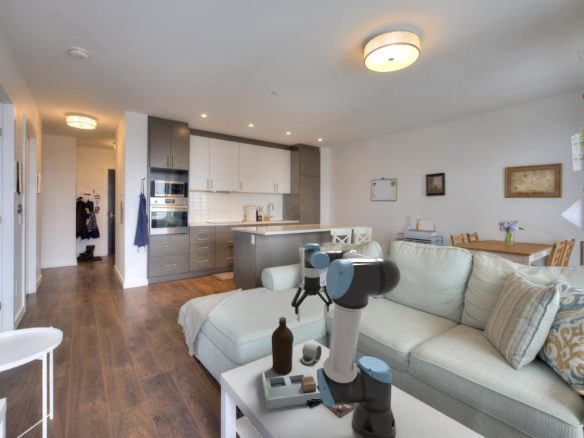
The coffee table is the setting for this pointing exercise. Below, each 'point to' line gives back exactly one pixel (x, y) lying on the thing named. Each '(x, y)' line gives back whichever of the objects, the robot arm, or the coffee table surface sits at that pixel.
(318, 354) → the ceramic mug
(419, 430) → the coffee table surface
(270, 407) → the board
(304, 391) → the brown block
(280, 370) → the olive oil
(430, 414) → the coffee table surface
